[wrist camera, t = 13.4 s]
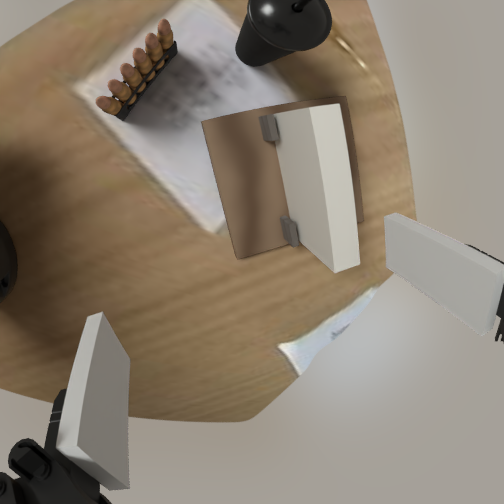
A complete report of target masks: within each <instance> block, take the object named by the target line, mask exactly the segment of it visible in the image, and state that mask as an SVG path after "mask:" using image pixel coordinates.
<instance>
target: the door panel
mask: <svg viewBox="0 0 504 504" xmlns="http://www.w3.org/2000/svg"><path fill="white" fill-rule="evenodd" d="M273 115H274V119H275V124H276V128H277V133H278V138H279V140H275V145H276V149H277V154H278V159H279V164H280V169H281V174H282V179H283V184H284V189H285V194H286V199H287V204H288V210H289V215H290V219H291V220H292V221H293V222H295V225H296V231H297V236H298V240H299V241H300V242H301V243H302V244H303V245H304V246H305V247H306V248H308V249H309V250H310V251H311V252H312V253H313V254H314V255H315V256H316V257H317V258H319V259H320V260H321V261H322V262H323V263H324V264H325V265H326V266H327V267H328V268H329V269H331V270H332V271H333V272H334V273H337V272H340V271H343V270H346V269H348V268H351V267H354V266H357V265H359V264H360V256H359V243H358V231H357V220H356V210H355V201H354V192H353V184H352V177H351V169H350V162H349V156H348V149H347V143H346V137H345V131H344V125H343V120H342V114H341V109H340V104H331V105H323V106H316V107H309V108H303V109H297V110H292V111H286V112H281V113H276V114H273Z"/></svg>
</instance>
